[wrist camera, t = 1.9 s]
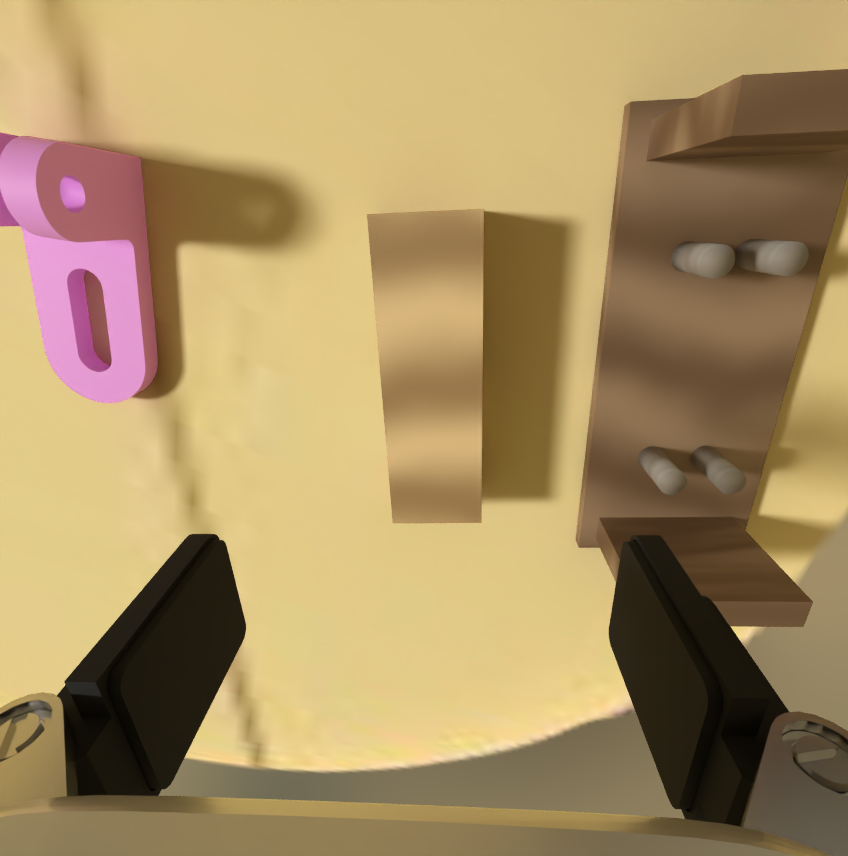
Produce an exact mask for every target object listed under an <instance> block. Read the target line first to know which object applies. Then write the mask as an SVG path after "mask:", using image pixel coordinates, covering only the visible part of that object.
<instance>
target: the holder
mask: <svg viewBox="0 0 848 856" xmlns="http://www.w3.org/2000/svg"><path fill="white" fill-rule="evenodd" d="M847 175H848V69H842V70H825V71H807V72H790V73H772V74H755V75H742V76H740V77H738V78H736V79H734V80H732V81H730V82H728V83H726V84H724V85H722V86H719V87H717V88H715V89H713V90H711V91H709V92H707V93H705V94H703V95H701V96H699V97H697V98H690V99H672V100H653V101H635V102H630V103H628V104H627V105H625V108H624V117H623V126H622V135H621V144H620V152H619V161H618V170H617V179H616V188H615V197H614V206H613V215H612V223H611V232H610V241H609V250H608V259H607V268H606V277H605V285H604V294H603V303H602V312H601V321H600V330H599V339H598V347H597V356H596V365H595V374H594V383H593V392H592V401H591V410H590V418H589V427H588V436H587V445H586V454H585V463H584V472H583V480H582V489H581V498H580V507H579V516H578V525H577V534H576V542H577V544H578V547H579V548H601V551H602V553H603V555H604V557H605V559H606V561H607V564H608V566H609V568H610V570H611V572H612V574H613V577H614V579H615V581H617V575H618V568H619V562H620V556H621V549H622V544H623V542H625V541H630V539H631V537H632V536H633V535H660V536H661V537H662V538H663V539H664V541H665V542H666V544H667V545H668V547H669V548H670V549H671V551H672V552H673V554H674V555H675V557H676V558H677V560H678V561H679V563H680V564H681V566H682V567H683V569H684V570H685V572H686V573H687V575H688V576H689V578H690V579H691V581H692V582H693V584H694V585H695V587H696V588H697V590H698V591H699V593H700V594H701V596H706V597H708V598H710V599H711V601H712V602H713V603H714V604H715V605H716V607H717V608H718V610H719V611H720V613H721V614H722V615H723V617H724V618H725V620H726V621H727V623H728V624H729V626H760V627H772V626H773V627H803V626H804V624H805V621H806V619H807V616H808V613H809V611H810V608H811V606H812V603H813V601H812V600H811V599H810V598H809V597H808V596H807V595H806V594H805V593H804V592H803V591H802V590H801V589H800V588H799V587H798V586H797V585H796V583H795V582H794V581H793V580H792V579H791V578H790V577H789V576H788V575H787V574H786V573H785V572H784V571H783V570H782V569H781V568H780V567H779V566H778V565H777V564H776V562H775V561H774V560H773V559H772V558H771V557H770V556H769V555H768V554H767V553H766V552H765V551H764V550H763V549H762V548H761V547H760V546H759V545H758V544H757V543H756V541H755V540H754V539H753V538H752V537H751V536H750V535H749V534H748V533H747V532H746V531H745V529H746V526H747V522H748V519H749V515H750V512H751V508H752V505H753V501H754V498H755V494H756V491H757V487H758V484H759V480H760V477H761V474H762V470H763V467H764V463H765V460H766V456H767V453H768V449H769V446H770V442H771V439H772V435H773V432H774V428H775V425H776V421H777V418H778V414H779V411H780V408H781V404H782V401H783V397H784V394H785V390H786V387H787V383H788V380H789V376H790V373H791V369H792V366H793V362H794V359H795V355H796V352H797V348H798V345H799V342H800V338H801V335H802V331H803V328H804V324H805V321H806V317H807V314H808V310H809V307H810V303H811V300H812V296H813V293H814V289H815V286H816V283H817V279H818V276H819V272H820V269H821V265H822V262H823V258H824V255H825V251H826V248H827V244H828V241H829V237H830V234H831V230H832V227H833V223H834V220H835V217H836V213H837V210H838V206H839V203H840V199H841V196H842V192H843V189H844V185H845V182H846V178H847Z"/></svg>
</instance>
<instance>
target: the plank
mask: <svg viewBox="0 0 848 856" xmlns="http://www.w3.org/2000/svg"><path fill="white" fill-rule="evenodd" d="M367 219H368V231H369V242H370V254H371V266H372V278H373V290H374V302H375V314H376V326H377V338H378V350H379V362H380V374H381V386H382V398H383V410H384V422H385V434H386V446H387V458H388V470H389V482H390V494H391V506H392V518H393V523H481V506H482V380H483V254H484V209H470V210H449V211H428V212H407V213H386V214H367Z"/></svg>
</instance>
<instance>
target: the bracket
mask: <svg viewBox="0 0 848 856" xmlns="http://www.w3.org/2000/svg"><path fill="white" fill-rule="evenodd" d="M0 226H20V227H21V229H22V231H23V236H24V241H25V246H26V252H27V257H28V263H29V268H30V273H31V279H32V284H33V290H34V295H35V300H36V306H37V311H38V316H39V322H40V327H41V333H42V338H43V343H44V349H45V353H46V356H47V359H48V361H49V363H50V365H51V367H52V369H53V370H54V372H55V373H56V374H57V376H58V377H59V378H60V379H61V380H62V381H63V382H64V383H65V384H66V385H67V386H68V387H69V388H71V389H72V390H73V391H75V392H76V393H78V394H80V395H81V396H83V397H85V398H88V399H90V400H93V401H97V402H103V403H116V402H120V401H124V400H126V399H128V398H130V397H132V396H134V395H135V394H137V393H139V392H141V391H142V390H144V389H145V388H147V387H148V386H149V385H150V384H151V382H152V381H153V379H154V377H155V375H156V372H157V368H158V354H157V342H156V331H155V319H154V307H153V296H152V284H151V272H150V260H149V249H148V237H147V225H146V214H145V202H144V190H143V179H142V167H141V157H136V156H131V155H126V154H121V153H116V152H111V151H106V150H101V149H96V148H91V147H86V146H81V145H76V144H71V143H66V142H60V141H54V140H48V139H42V138H36V137H30V136H15V135H10V134H4V133H0ZM87 270H88V271H90V272H91V273H93V274H94V275H95V276H96V277H97V278H98V279H99V281H100V283H101V285H102V288H103V295H104V303H105V311H106V318H107V326H108V334H109V342H110V350H111V358H112V363H111V365H108V364H106V363H104V362H102V361H101V360H100V359H99V358H98V357H97V355H96V353H95V351H94V347H93V340H92V333H91V325H90V318H89V311H88V304H87V297H86V290H85V283H84V275H85V273H86V271H87Z"/></svg>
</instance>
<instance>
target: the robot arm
mask: <svg viewBox="0 0 848 856" xmlns="http://www.w3.org/2000/svg"><path fill="white" fill-rule="evenodd" d="M245 632H246V623H245V619H244V615H243V611H242V607H241V603H240V599H239V595H238V591H237V587H236V582H235V578H234V574H233V570H232V566H231V562H230V558H229V554H228V550H227V546H226V543H225V542H224V541H223V540H219V537H218V536H217V535H215V534H191V535H189V536H188V537H187V538H186V539H185V540H184V541H183V542H182V543H181V545H180V546H179V547H178V548H177V549H176V551H175V552H174V553H173V554H172V555H171V556H170V558H169V559H168V560H167V561H166V562H165V563H164V565H163V566H162V567H161V568H160V569H159V571H158V572H157V573H156V574H155V575H154V576H153V578H152V579H151V580H150V581H149V582H148V584H147V585H146V586H145V587H144V588H143V589H142V591H141V592H140V593H139V594H138V595H137V597H136V598H135V599H134V600H133V601H132V602H131V604H130V605H129V606H128V607H127V608H126V610H125V611H124V612H123V613H122V614H121V615H120V617H119V618H118V619H117V620H116V621H115V623H114V624H113V625H112V626H111V627H110V628H109V630H108V631H107V632H106V633H105V634H104V635H103V637H102V638H101V639H100V640H99V641H98V643H97V644H96V645H95V646H94V647H93V648H92V650H91V651H90V652H89V653H88V654H87V656H86V657H85V658H84V659H83V660H82V661H81V663H80V664H79V665H78V666H77V667H76V669H75V670H74V671H73V672H72V673H71V674H70V676H69V677H68V678H67V679H66V680H65V684H66V685H65V687H64V688H63V689H62V690H61V691H60V693H59V694H58V695H57V696H56V695H54V694H51V693H37V694H31V695H27V696H25V697H22V698H19V699H16V700H14V701H12V702H10V703H8V704H6V705H5V706H3V707H1V708H0V856H848V731H847V730H845V729H843V728H842V727H840V726H838V725H837V724H835V723H833V722H831V721H829V720H826V719H824V718H821V717H819V716H816V715H813V714H808V713H803V712H789V711H788V709H787V708H786V707H785V705H784V704H783V702H782V701H781V699H780V698H779V697H778V695H777V694H776V692H775V691H774V689H773V688H772V686H771V685H770V683H769V682H768V681H767V679H766V678H765V676H764V675H763V673H762V672H761V670H760V669H759V667H758V666H757V665H756V663H755V662H754V660H753V659H752V657H751V656H750V654H749V653H748V652H747V650H746V649H745V647H744V646H743V644H742V643H741V641H740V640H739V639H738V637H737V636H736V634H735V633H734V631H733V630H732V628H731V627H730V626H729V624H728V623H727V621H726V620H725V618H724V617H723V615H722V614H721V613H720V611H719V610H718V608H717V607H716V605H715V604H714V603H713V602H712V601H711V599H710V598H708V597H706V596H701V594H700V593H699V591H698V590H697V588H696V587H695V585H694V584H693V582H692V581H691V579H690V578H689V576H688V575H687V573H686V572H685V570H684V569H683V567H682V566H681V564H680V563H679V561H678V560H677V558H676V557H675V555H674V554H673V552H672V551H671V549H670V548H669V547H668V545H667V544H666V542H665V541H664V539H663V538H662V537H661V536H660V535H633V536H632V537H631V539H630V541H625V542H623V544H622V549H621V556H620V562H619V568H618V575H617V581H616V587H615V594H614V600H613V606H612V613H611V619H610V625H609V639H610V644H611V647H612V650H613V653H614V655H615V658H616V661H617V663H618V666H619V669H620V671H621V674H622V677H623V679H624V682H625V685H626V687H627V690H628V692H629V695H630V698H631V700H632V703H633V706H634V708H635V711H636V714H637V716H638V719H639V721H640V724H641V727H642V730H643V732H644V735H645V737H646V740H647V743H648V745H649V748H650V751H651V754H652V756H653V759H654V761H655V764H656V767H657V769H658V772H659V775H660V777H661V780H662V783H663V785H664V788H665V791H666V793H667V796H668V798H669V801H670V803H671V805H672V806H673V807H674V808H675V809H682V812H683V814H684V817H685V819H679V818H665V817H649V816H634V815H619V814H602V813H588V812H566V811H565V812H564V811H543V810H521V809H499V808H477V807H476V808H475V807H456V806H454V807H453V806H430V805H406V804H382V803H381V804H380V803H354V802H330V801H329V802H328V801H303V800H275V799H244V798H215V797H214V798H212V797H185V796H183V797H181V796H158V795H159V793H160V791H161V790H162V789H166V788H167V787H168V786H169V785H170V784H171V782H172V781H173V779H174V777H175V775H176V773H177V771H178V769H179V767H180V765H181V763H182V761H183V759H184V757H185V755H186V753H187V751H188V749H189V747H190V745H191V743H192V741H193V739H194V737H195V735H196V733H197V731H198V729H199V727H200V725H201V723H202V721H203V719H204V717H205V715H206V713H207V711H208V709H209V708H210V706H211V704H212V702H213V700H214V698H215V696H216V694H217V692H218V690H219V688H220V686H221V684H222V682H223V680H224V678H225V676H226V674H227V672H228V670H229V668H230V666H231V664H232V662H233V660H234V658H235V656H236V654H237V652H238V650H239V648H240V646H241V644H242V642H243V639H244V637H245Z"/></svg>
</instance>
